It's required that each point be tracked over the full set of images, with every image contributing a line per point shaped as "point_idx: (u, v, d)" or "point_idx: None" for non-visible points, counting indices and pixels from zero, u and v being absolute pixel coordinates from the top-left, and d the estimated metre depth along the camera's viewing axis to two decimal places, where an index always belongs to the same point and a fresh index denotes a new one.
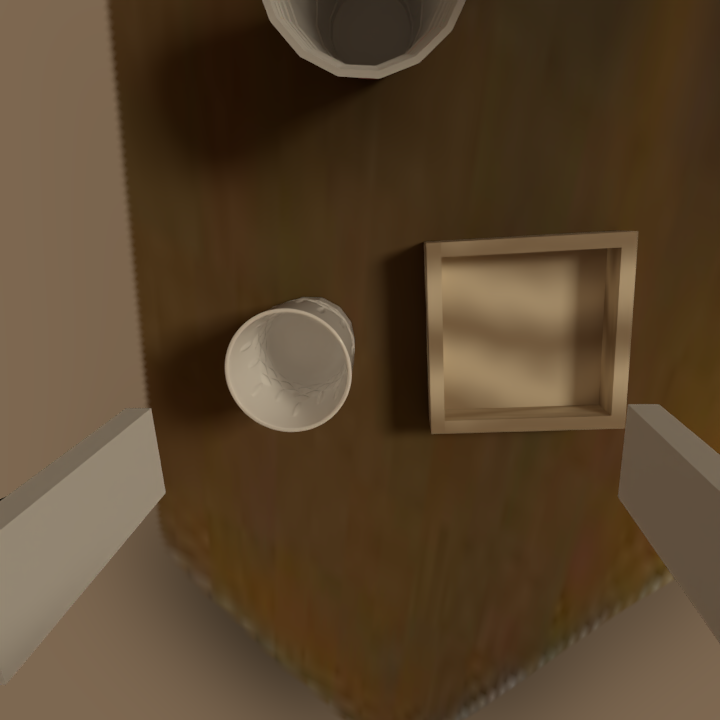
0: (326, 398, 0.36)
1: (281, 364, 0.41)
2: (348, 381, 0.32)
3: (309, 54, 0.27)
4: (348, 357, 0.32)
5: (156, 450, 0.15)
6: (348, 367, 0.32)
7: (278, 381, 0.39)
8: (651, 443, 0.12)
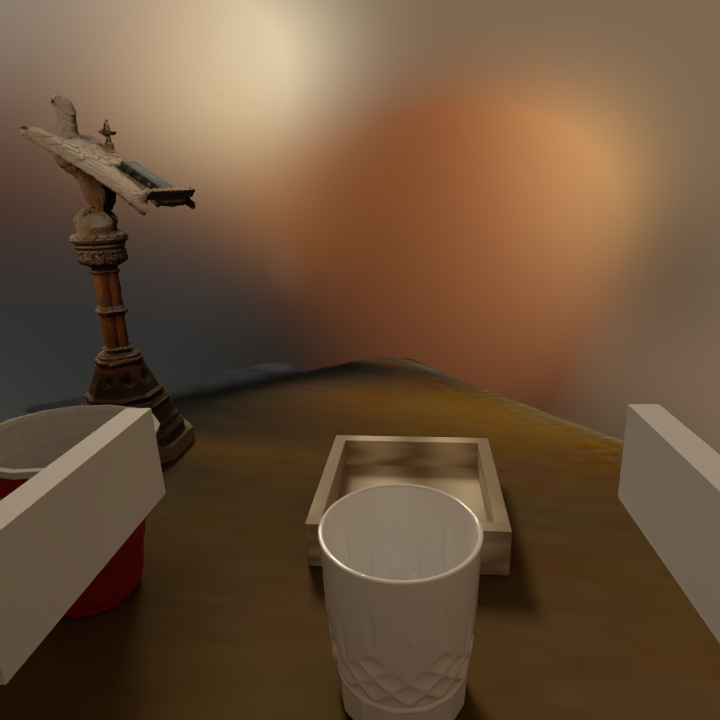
0: (458, 566, 0.28)
1: None
2: (416, 485, 0.29)
3: None
4: (388, 484, 0.29)
5: (157, 450, 0.15)
6: (399, 484, 0.29)
7: None
8: (651, 443, 0.12)
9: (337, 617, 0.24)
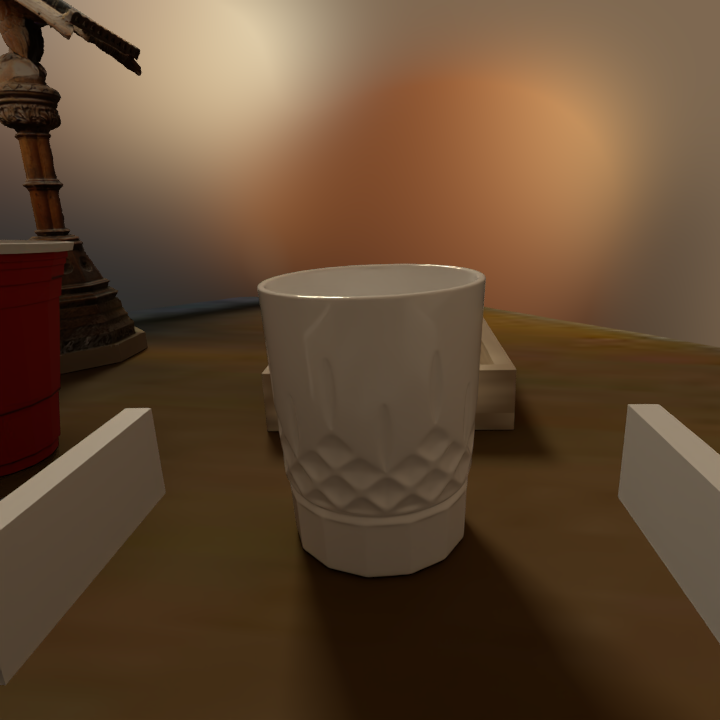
0: None
1: None
2: (394, 264, 0.22)
3: None
4: (358, 266, 0.22)
5: (156, 450, 0.15)
6: (373, 265, 0.22)
7: None
8: (651, 443, 0.12)
9: (284, 391, 0.17)
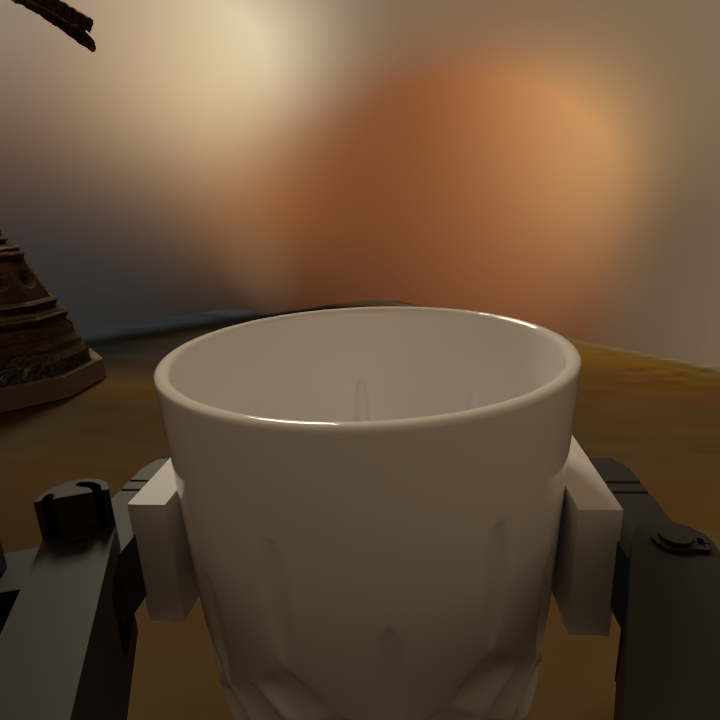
0: None
1: None
2: (404, 307, 0.14)
3: None
4: (348, 309, 0.14)
5: None
6: (371, 308, 0.14)
7: None
8: None
9: (201, 567, 0.09)
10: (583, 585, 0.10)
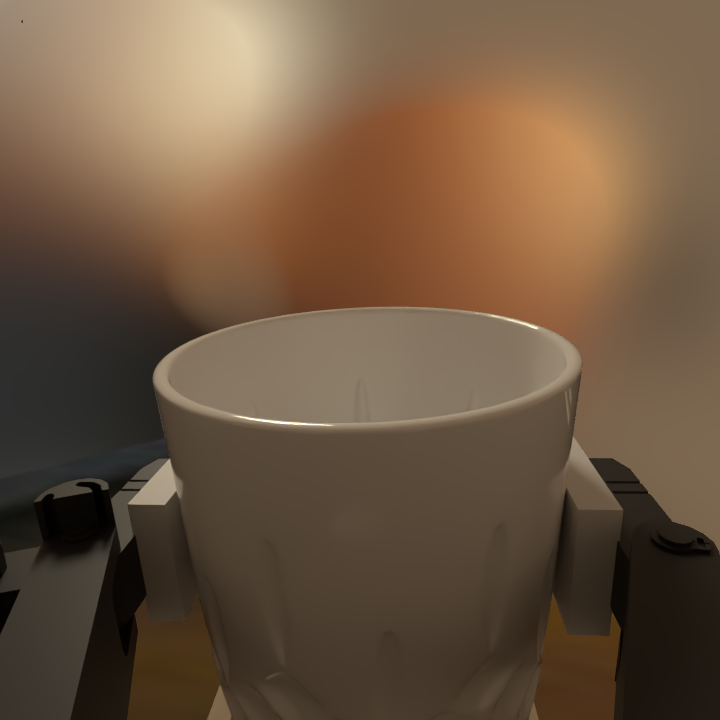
0: None
1: None
2: (405, 307, 0.14)
3: None
4: (348, 309, 0.14)
5: None
6: (371, 308, 0.14)
7: None
8: None
9: (200, 569, 0.09)
10: (583, 585, 0.10)
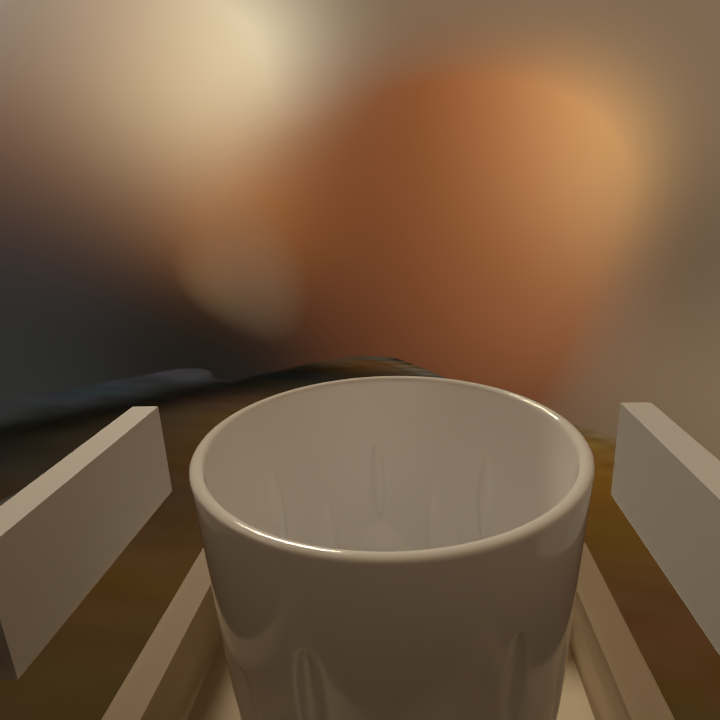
0: None
1: None
2: (419, 377, 0.14)
3: None
4: (365, 378, 0.15)
5: (163, 448, 0.15)
6: (387, 377, 0.15)
7: None
8: (642, 441, 0.12)
9: (234, 658, 0.10)
10: None
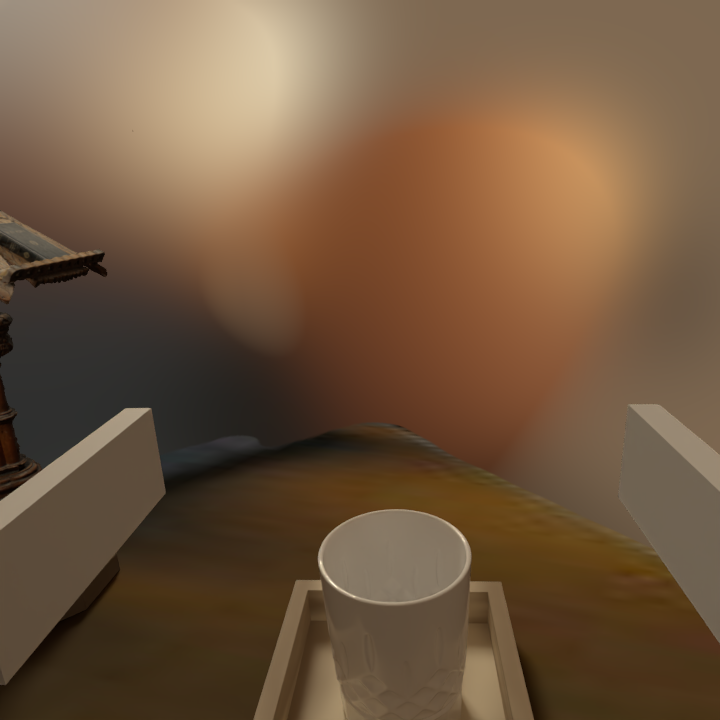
0: None
1: None
2: (408, 510, 0.31)
3: None
4: (382, 510, 0.31)
5: (157, 450, 0.15)
6: (393, 510, 0.31)
7: None
8: (651, 442, 0.12)
9: (338, 639, 0.26)
10: None
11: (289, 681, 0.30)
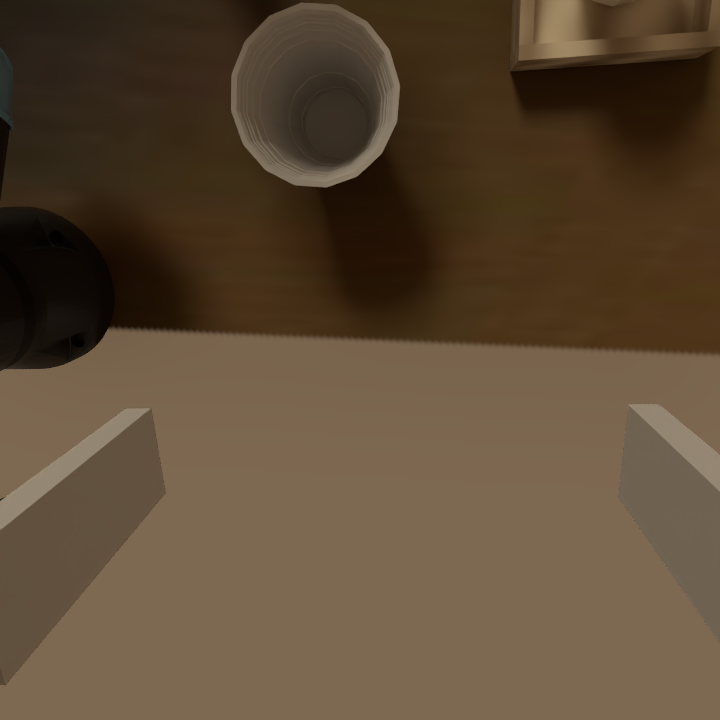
0: None
1: None
2: None
3: (380, 145, 0.34)
4: None
5: (156, 450, 0.15)
6: None
7: None
8: (651, 443, 0.12)
9: None
10: None
11: None
